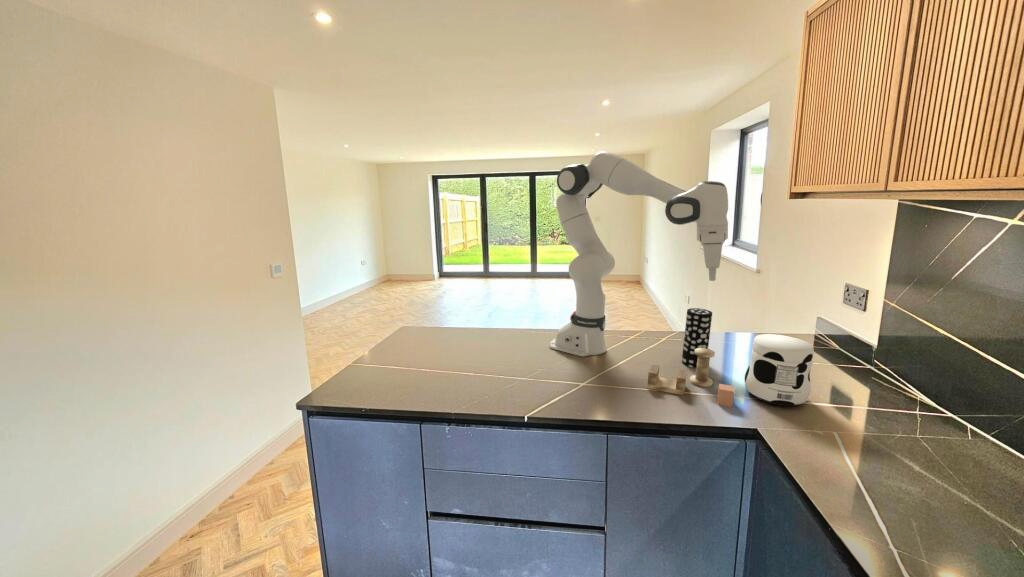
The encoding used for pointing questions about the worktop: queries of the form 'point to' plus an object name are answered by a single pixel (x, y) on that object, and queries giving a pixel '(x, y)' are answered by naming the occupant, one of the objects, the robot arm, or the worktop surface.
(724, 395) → the orange block
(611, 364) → the worktop surface
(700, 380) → the bobbin
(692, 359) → the white-spotted black cylinder
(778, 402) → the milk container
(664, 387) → the notched board
